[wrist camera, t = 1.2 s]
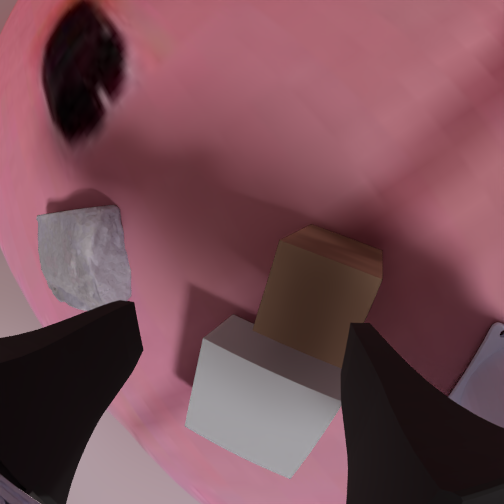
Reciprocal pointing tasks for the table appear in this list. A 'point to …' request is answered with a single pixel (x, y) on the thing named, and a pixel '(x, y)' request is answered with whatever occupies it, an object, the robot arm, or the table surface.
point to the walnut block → (318, 292)
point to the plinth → (261, 397)
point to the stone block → (85, 256)
